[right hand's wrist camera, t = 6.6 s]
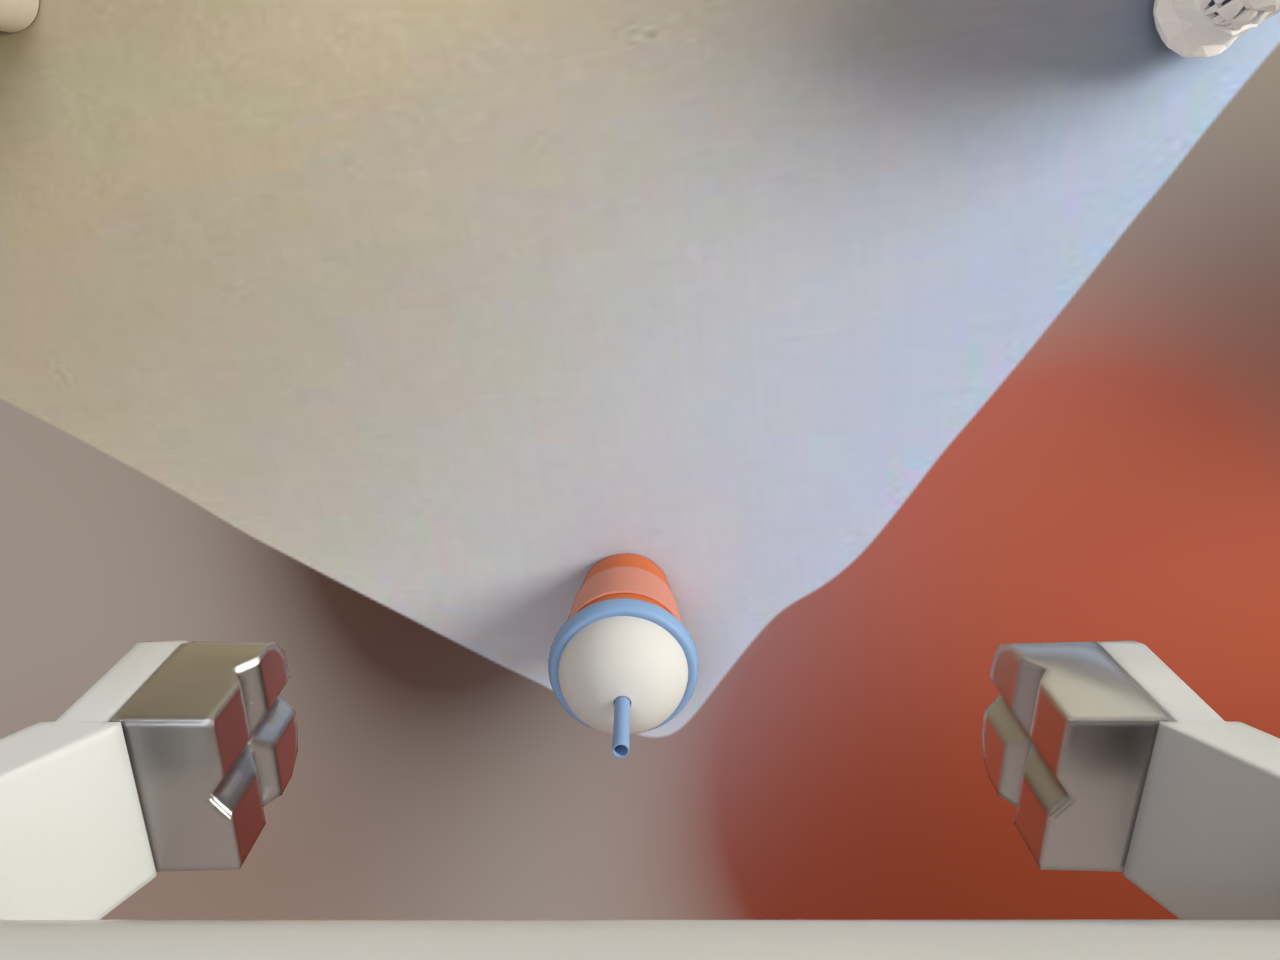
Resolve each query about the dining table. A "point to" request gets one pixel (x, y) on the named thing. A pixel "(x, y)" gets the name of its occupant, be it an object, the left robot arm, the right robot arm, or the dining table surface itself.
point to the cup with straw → (623, 652)
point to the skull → (1207, 23)
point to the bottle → (17, 14)
